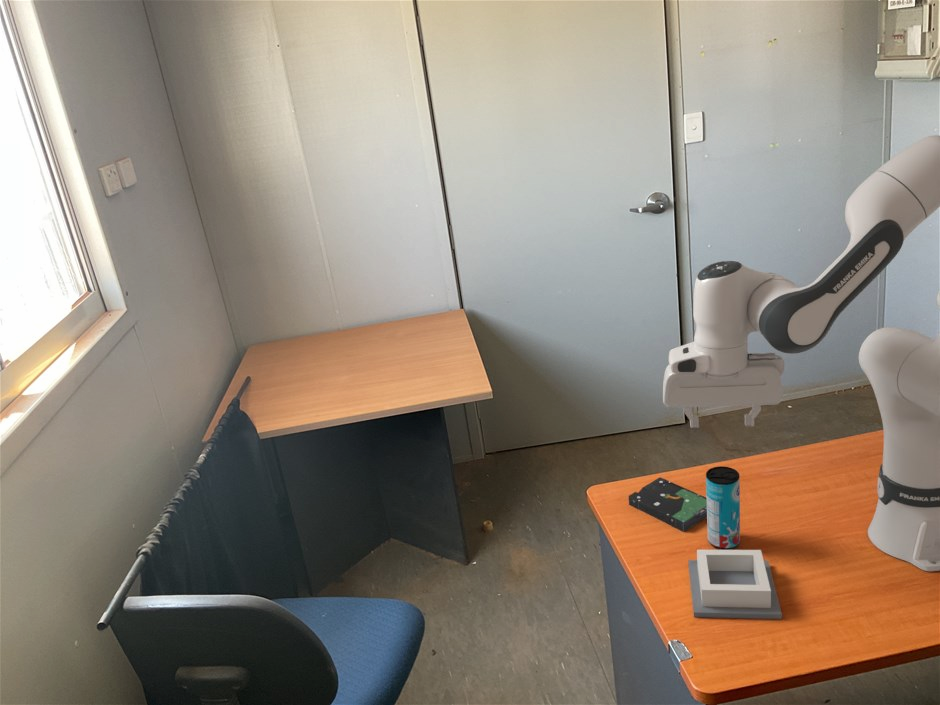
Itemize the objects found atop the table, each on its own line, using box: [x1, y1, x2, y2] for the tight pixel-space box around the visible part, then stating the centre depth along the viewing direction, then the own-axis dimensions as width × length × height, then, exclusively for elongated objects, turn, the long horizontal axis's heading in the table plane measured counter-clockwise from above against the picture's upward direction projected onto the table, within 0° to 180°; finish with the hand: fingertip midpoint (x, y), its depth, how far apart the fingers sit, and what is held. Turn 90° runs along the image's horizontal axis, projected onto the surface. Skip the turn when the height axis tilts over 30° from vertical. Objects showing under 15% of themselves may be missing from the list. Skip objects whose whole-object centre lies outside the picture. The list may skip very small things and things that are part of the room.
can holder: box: [687, 549, 783, 620], centre depth 134 cm, size 14×14×4 cm
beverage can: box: [705, 465, 741, 550], centre depth 145 cm, size 6×6×15 cm
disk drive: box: [628, 476, 707, 533], centre depth 160 cm, size 10×3×15 cm
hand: (721, 425), depth 138 cm, fingers open, 8 cm apart
